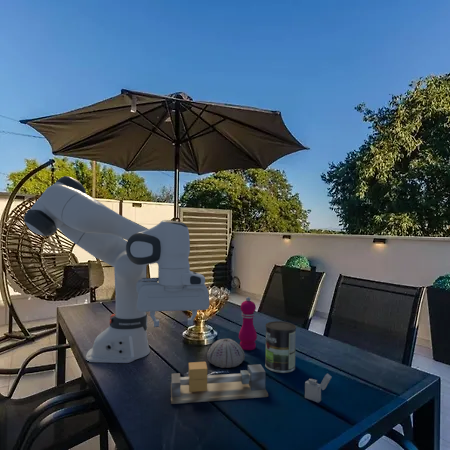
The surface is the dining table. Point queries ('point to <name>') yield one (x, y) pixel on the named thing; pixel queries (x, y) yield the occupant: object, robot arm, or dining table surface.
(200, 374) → the tan wooden block
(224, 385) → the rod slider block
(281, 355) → the coffee can
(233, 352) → the sea urchin shell
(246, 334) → the pepper mill
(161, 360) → the dining table surface
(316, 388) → the lighter
